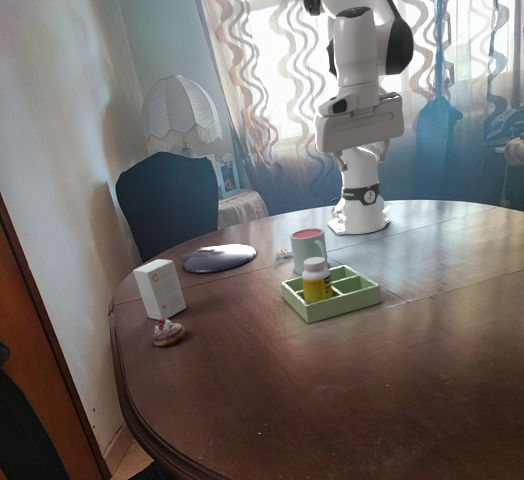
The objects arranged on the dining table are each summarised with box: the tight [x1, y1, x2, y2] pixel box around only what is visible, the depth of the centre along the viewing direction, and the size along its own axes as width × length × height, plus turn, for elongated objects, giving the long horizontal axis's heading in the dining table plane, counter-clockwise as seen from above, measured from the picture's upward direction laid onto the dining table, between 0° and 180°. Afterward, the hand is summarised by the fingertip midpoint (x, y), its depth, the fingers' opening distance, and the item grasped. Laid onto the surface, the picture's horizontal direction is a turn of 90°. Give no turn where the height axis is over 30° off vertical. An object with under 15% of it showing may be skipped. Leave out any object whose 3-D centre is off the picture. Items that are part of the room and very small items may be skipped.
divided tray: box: [280, 264, 382, 324], centre depth 108 cm, size 17×17×4 cm
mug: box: [289, 227, 329, 275], centre depth 125 cm, size 14×9×10 cm
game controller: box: [275, 248, 293, 266], centre depth 139 cm, size 6×12×3 cm, turn 176°
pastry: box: [152, 317, 186, 347], centre depth 104 cm, size 8×8×5 cm
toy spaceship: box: [177, 244, 257, 274], centre depth 152 cm, size 28×24×3 cm
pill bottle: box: [301, 257, 332, 304], centre depth 102 cm, size 6×6×11 cm
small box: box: [132, 258, 187, 321], centre depth 116 cm, size 8×6×13 cm
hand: (362, 166), depth 106 cm, fingers open, 8 cm apart
